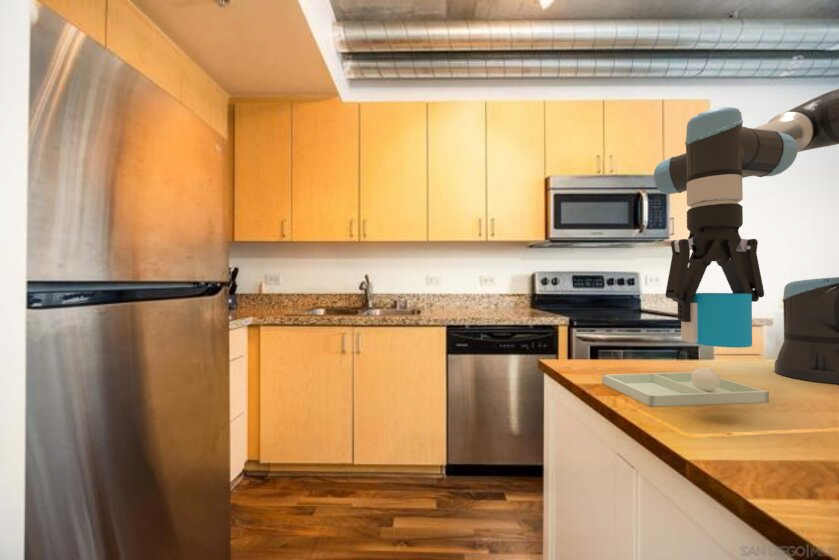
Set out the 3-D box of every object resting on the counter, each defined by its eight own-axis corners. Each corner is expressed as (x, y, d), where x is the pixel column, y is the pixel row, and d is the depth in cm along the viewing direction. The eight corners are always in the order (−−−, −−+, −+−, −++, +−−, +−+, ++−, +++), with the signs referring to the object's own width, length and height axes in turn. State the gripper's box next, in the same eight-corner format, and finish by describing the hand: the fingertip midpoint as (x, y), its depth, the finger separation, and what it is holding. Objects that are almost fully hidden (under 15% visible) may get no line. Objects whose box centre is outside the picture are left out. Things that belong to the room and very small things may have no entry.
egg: (706, 387, 83) (706, 364, 83) (726, 393, 78) (726, 369, 78) (685, 388, 83) (685, 365, 83) (703, 394, 78) (703, 370, 78)
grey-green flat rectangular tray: (700, 382, 89) (700, 371, 89) (768, 405, 73) (768, 391, 73) (602, 386, 87) (602, 374, 87) (650, 409, 71) (650, 396, 71)
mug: (751, 349, 59) (750, 295, 59) (686, 344, 65) (685, 294, 65) (753, 339, 68) (753, 292, 68) (696, 335, 74) (695, 292, 74)
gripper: (750, 210, 71) (752, 335, 71) (639, 209, 69) (640, 339, 69) (794, 201, 63) (795, 342, 63) (670, 201, 61) (672, 346, 61)
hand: (715, 340), depth 66 cm, fingers closed on mug, 8 cm apart
